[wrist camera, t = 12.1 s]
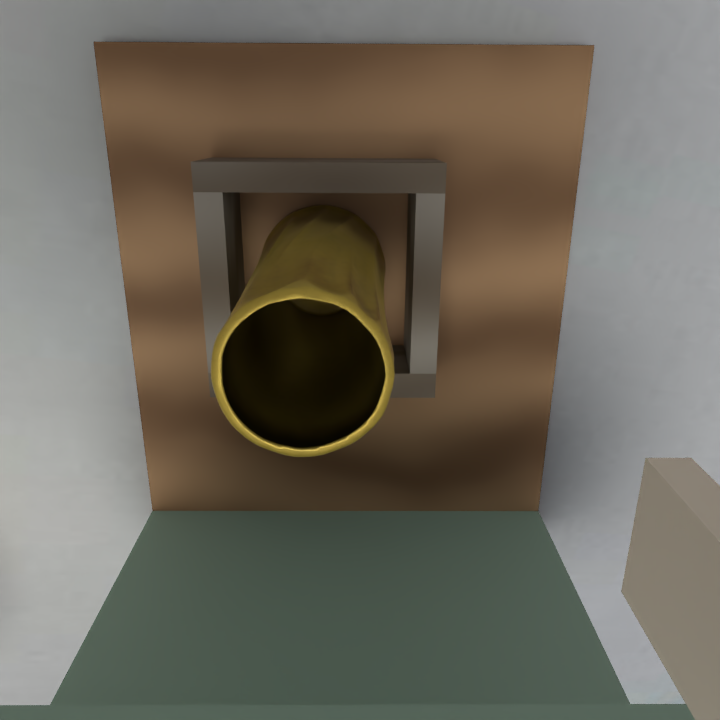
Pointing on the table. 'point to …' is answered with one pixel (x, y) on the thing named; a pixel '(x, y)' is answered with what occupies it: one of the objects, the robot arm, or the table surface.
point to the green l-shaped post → (343, 624)
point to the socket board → (396, 237)
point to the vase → (308, 338)
